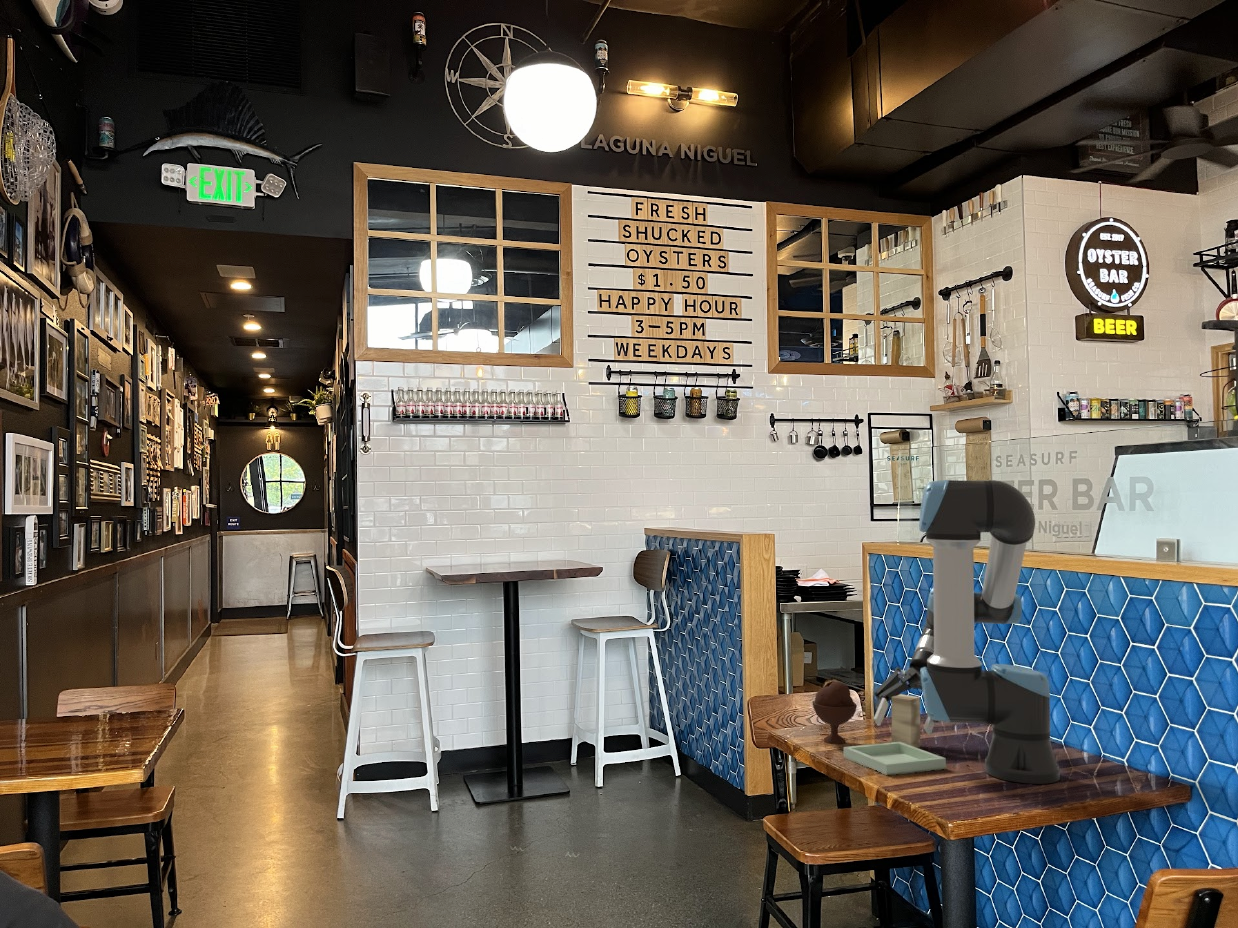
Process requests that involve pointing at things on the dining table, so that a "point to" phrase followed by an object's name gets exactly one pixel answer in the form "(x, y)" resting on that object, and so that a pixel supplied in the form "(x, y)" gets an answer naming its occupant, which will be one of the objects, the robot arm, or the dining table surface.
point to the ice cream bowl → (834, 708)
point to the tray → (894, 758)
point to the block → (906, 720)
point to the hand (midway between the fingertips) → (901, 726)
